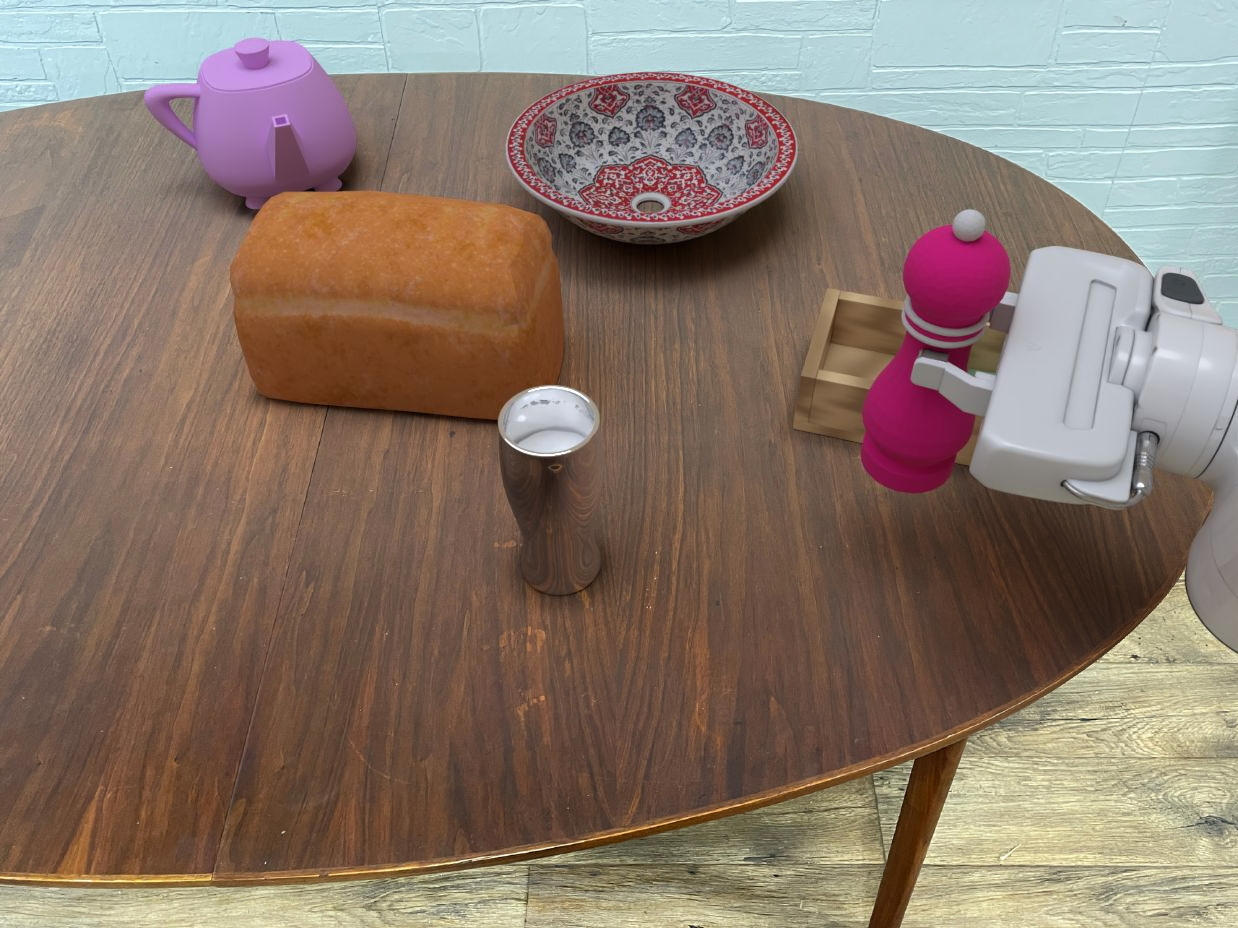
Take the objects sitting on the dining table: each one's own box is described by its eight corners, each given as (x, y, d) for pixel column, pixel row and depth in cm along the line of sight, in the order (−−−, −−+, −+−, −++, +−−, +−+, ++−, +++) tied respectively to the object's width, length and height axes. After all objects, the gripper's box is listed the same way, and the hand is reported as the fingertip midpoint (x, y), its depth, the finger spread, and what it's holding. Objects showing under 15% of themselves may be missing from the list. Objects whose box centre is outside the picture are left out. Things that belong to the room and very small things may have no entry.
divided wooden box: (1078, 390, 90) (1100, 336, 85) (1075, 488, 82) (1100, 434, 78) (818, 340, 95) (826, 287, 90) (792, 428, 87) (800, 375, 83)
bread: (544, 433, 87) (530, 280, 75) (245, 405, 90) (188, 252, 78) (572, 329, 96) (564, 178, 85) (301, 305, 99) (257, 156, 87)
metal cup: (619, 538, 79) (617, 394, 68) (589, 611, 75) (582, 468, 64) (533, 518, 81) (518, 373, 70) (499, 587, 76) (477, 444, 65)
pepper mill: (947, 425, 75) (1021, 176, 60) (969, 500, 70) (1056, 249, 55) (846, 425, 75) (896, 177, 60) (861, 500, 70) (919, 250, 55)
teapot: (197, 261, 104) (145, 122, 93) (170, 164, 117) (122, 32, 106) (388, 214, 109) (361, 78, 98) (343, 127, 122) (315, -3, 111)
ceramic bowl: (483, 282, 101) (474, 211, 95) (541, 130, 121) (536, 64, 115) (784, 306, 98) (794, 234, 92) (793, 146, 118) (802, 79, 112)
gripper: (1128, 554, 56) (876, 482, 60) (1155, 333, 69) (946, 285, 73) (1171, 475, 52) (896, 402, 56) (1192, 253, 65) (967, 207, 69)
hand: (925, 334), depth 65 cm, fingers closed on pepper mill, 5 cm apart
